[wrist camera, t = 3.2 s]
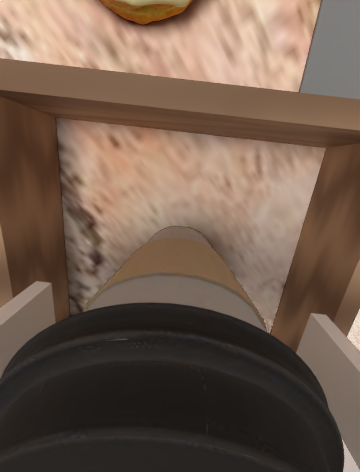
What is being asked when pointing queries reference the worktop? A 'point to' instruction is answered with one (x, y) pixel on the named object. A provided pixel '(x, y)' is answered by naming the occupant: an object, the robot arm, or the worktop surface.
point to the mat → (334, 51)
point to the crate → (186, 120)
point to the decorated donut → (146, 9)
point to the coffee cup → (165, 379)
